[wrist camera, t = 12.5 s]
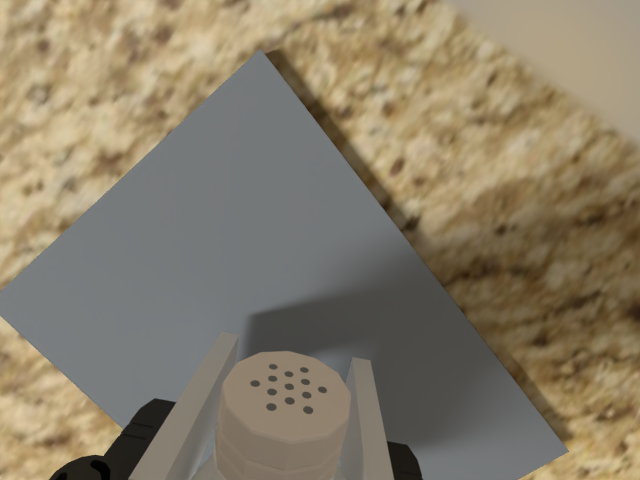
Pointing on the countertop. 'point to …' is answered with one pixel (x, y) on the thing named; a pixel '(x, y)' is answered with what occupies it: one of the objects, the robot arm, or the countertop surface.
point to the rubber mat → (269, 286)
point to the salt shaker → (279, 421)
